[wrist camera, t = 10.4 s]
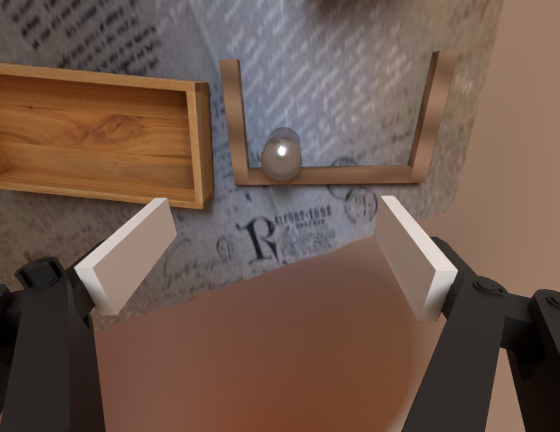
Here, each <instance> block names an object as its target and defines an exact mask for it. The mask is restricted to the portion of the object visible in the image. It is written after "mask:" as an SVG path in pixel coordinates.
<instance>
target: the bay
mask: <svg viewBox="0 0 560 432" xmlns="http://www.w3.org/2000/svg"><path fill="white" fill-rule="evenodd" d="M458 53H459V50H451V51H437V52H433V55H432V59H431V64H430V68H429V73H428V77H427V82H426V87H425V91H424V96H423V100H422V105H421V109H420V114H419V119H418V123H417V128H416V132H415V137H414V141H413V146H412V151H411V155H410V160H409V164H408V165H390V166H325V167H301V168H300V170H299V172H298V173H297V174H296V175H295V176H294V177H292V178H291V179H288V180H284V181H279V180H274V179H272V178H270V177H269V176H268V175H267V174H266V173H265V172H264V170H263V169H262V167H260V168H249V160H248V149H247V138H246V127H245V116H244V105H243V95H242V84H241V73H240V62H239V60H238V59H228V60H219V62H220V70H221V78H222V86H223V94H224V102H225V110H226V118H227V126H228V134H229V142H230V151H231V159H232V167H233V175H234V183H235V185H270V184H357V183H425V180H426V176H427V172H428V168H429V165H430V161H431V157H432V153H433V149H434V145H435V142H436V138H437V134H438V130H439V126H440V122H441V118H442V115H443V111H444V107H445V103H446V99H447V95H448V92H449V88H450V84H451V80H452V76H453V72H454V68H455V65H456V61H457V57H458Z"/></svg>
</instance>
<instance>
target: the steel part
mask: <svg viewBox="0 0 560 432" xmlns="http://www.w3.org/2000/svg"><path fill="white" fill-rule="evenodd" d="M301 164H302V157H301V147H300V139H299V137H298V135H297V134H296V132H295V131H293V130H292V129H290V128H286V127H282V128H278V129H276V130H274V131H273V132H272V133H271V134H270V136H269V138H268V140H267V143H266V145H265V147H264V150H263V152H262V155H261V166H262V169H263V170H264V172H265V173H266V174H267V175H268V176H269V177H270V178H272V179H274V180H279V181H284V180H288V179H291V178H292V177H294V176H295V175H296V174H297V173H298V172H299V170H300V168H301Z"/></svg>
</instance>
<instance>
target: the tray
mask: <svg viewBox="0 0 560 432" xmlns="http://www.w3.org/2000/svg"><path fill="white" fill-rule="evenodd" d="M0 189H8V190H17V191H27V192H37V193H47V194H57V195H67V196H76V197H86V198H96V199H105V200H115V201H124V202H134V203H143V204H149V203H150V202H151V201H152V200H153V199H155V198H167V199H168V203H169V206H173V207H183V208H194V209H204V208H205V207H206V205H207V204H208V203H209V201H210V200H211V199H212V197H213V195H214V182H213V161H212V142H211V123H210V103H209V85H208V82H201V81H189V80H178V79H167V78H156V77H145V76H134V75H124V74H114V73H103V72H93V71H83V70H73V69H62V68H52V67H41V66H31V65H21V64H12V63H2V62H0Z"/></svg>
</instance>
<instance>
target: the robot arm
mask: <svg viewBox="0 0 560 432" xmlns="http://www.w3.org/2000/svg"><path fill="white" fill-rule="evenodd" d="M176 236H177V233H176V229H175V225H174V222H173V218H172V214H171V211H170V207H169V203H168V199H167V198H155V199H153V200H152V201H151V202H150V203H149V204H148V205H146V206H145V207H144V208H143V209H142V210H141V211H139V212H138V213H137V214H136V215H135V216H134V217H132V218H131V219H130V220H129V221H128V222H127V223H125V224H124V225H123V226H122V227H121V228H120V229H118V230H117V231H116V232H115V233H114V234H113V235H111V236H110V237H108V238H107V239H105V240H103V241H101V242H99V243H98V244H96V245H95V246H94V247H93V248H92V249H91V251H88V252H87V253H86V254H85V255H84V256H82V257H81V258H80V259H79V260H77V261H76V262H75V263H74V264H73V265H71V266H70V267H69V268H68V269H67V270H65V271H64V269H63V267H62V265H61V264H60V262H59V260H58V258H57V257H53V256H52V257H44V258H40V259H36V260H34V261H31V262H29V263H27V264H25V265H23V266H22V267H21V268H19V269H18V270H17V271H16V273H15V274H14V275H15V276H16V277H17V279H18V280H19V282H20V283H21V284H22V286H23V287H24V289H25V290H20V291H15V292H10V290H9V289H8V288H7V286H6V285H5V284H0V414H1V412H2V410H3V414H2V419H1V424H0V432H106V430H105V423H104V414H103V407H102V406H103V405H102V397H101V389H100V381H99V372H98V364H97V356H96V348H95V339H94V331H93V322H92V318H91V316H90V314H89V312H90V311H91V310H92V309H93V308H94V306H95V307H96V309H97V311H98V313H99V314H100V315H106V316H117V314H118V313H119V312H120V310H121V309H122V308H123V306H124V305H125V304H126V302H127V301H128V300H129V298H130V297H131V296H132V294H133V293H134V292H135V290H136V289H137V288H138V286H139V285H140V284H141V282H142V281H143V280H144V278H145V277H146V276H147V274H148V273H149V272H150V270H151V269H152V268H153V266H154V265H155V264H156V262H157V261H158V260H159V258H160V257H161V256H162V254H163V253H164V252H165V250H166V249H167V248H168V246H169V245H170V244H171V242H172V241H173V240H174V238H175V237H176ZM374 236H375V238H376V240H377V242H378V244H379V246H380V248H381V250H382V252H383V254H384V256H385V258H386V260H387V262H388V263H389V265H390V267H391V269H392V271H393V273H394V275H395V277H396V279H397V281H398V283H399V285H400V287H401V289H402V291H403V292H404V294H405V296H406V298H407V300H408V302H409V304H410V306H411V308H412V310H413V312H414V314H415V316H416V318H417V320H418V321H423V322H424V321H426V322H437V321H438V319H439V317H440V314H441V312H442V313H443V314H444V316H445V318H446V319H447V321H446V324H445V326H444V328H443V331H442V333H441V335H440V338H439V341H438V343H437V345H436V348H435V350H434V353H433V355H432V358H431V360H430V363H429V365H428V367H427V370H426V372H425V375H424V377H423V380H422V382H421V385H420V387H419V389H418V392H417V394H416V397H415V399H414V402H413V404H412V407H411V409H410V411H409V414H408V417H407V419H406V421H405V424H404V426H403V429H402V431H401V432H485V427H486V422H487V416H488V411H489V405H490V399H491V393H492V388H493V382H494V376H495V371H496V365H497V360H498V354H499V349H500V347H501V348H504V349H506V351H507V355H508V359H509V364H510V368H511V372H512V376H513V380H514V385H515V389H516V393H517V397H518V402H519V406H520V410H521V414H522V418H523V422H524V426H525V431H526V432H560V292H557V291H553V290H547V289H543V290H538V291H536V292H535V294H534V295H533V296H532V298H528V297H524V296H519V295H514V294H510V293H508V292H507V291H506V289H505V288H504V287H503V286H501V285H500V284H498V283H497V282H495V281H493V280H491V279H489V278H486V277H482V276H477V275H476V274H475V272H474V271H472V269H471V268H470V267H469V266H468V265H467V264H466V263H465V262H464V261H463V260H462V259H461V258H460V257H459V255H458V254H456V252H455V251H453V249H452V248H451V247H450V246H449V245H448V244H447V243H446V242H444V241H443V240H441V239H439V238H438V237H429V236H428V235H427V234H426V233H425V232H424V231H423V230H422V228H421V227H420V226H419V225H418V224H417V222H416V221H415V220H414V219H413V218H412V217H411V215H410V214H409V213H408V212H407V211H406V210H405V208H404V207H403V206H402V205H401V204H400V203H399V202H398V200H397V199H396V198H395V197H394V196H381V197H380V202H379V208H378V214H377V219H376V225H375V230H374Z"/></svg>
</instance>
